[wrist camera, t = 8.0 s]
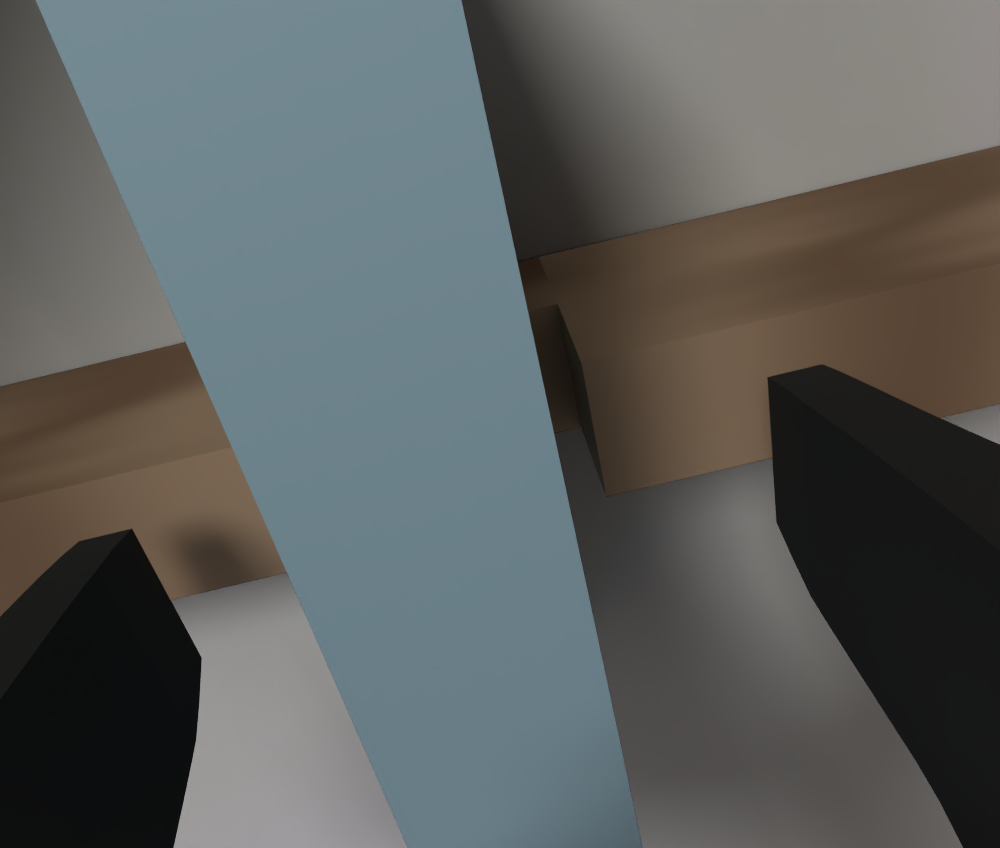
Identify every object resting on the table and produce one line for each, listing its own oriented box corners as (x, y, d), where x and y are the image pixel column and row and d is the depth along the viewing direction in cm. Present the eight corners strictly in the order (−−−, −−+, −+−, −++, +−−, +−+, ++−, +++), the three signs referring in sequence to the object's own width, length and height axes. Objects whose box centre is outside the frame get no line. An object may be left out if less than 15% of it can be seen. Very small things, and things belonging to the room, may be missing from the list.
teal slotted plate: (206, -198, 11) (-98, -307, 4) (377, -240, 11) (367, -430, 4) (475, 653, 18) (534, 1134, 11) (576, 629, 18) (695, 1097, 11)
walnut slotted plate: (1081, 125, 14) (1275, 198, 11) (1067, 250, 15) (1238, 346, 12) (-212, 437, 14) (-370, 591, 11) (-137, 537, 15) (-264, 703, 12)
